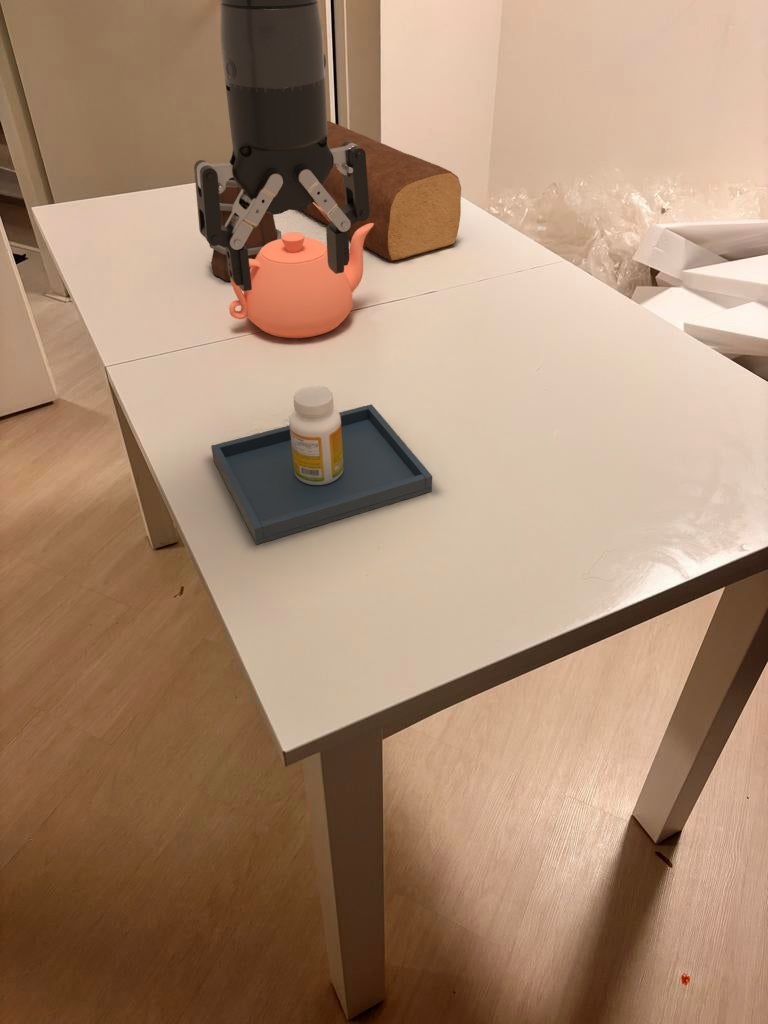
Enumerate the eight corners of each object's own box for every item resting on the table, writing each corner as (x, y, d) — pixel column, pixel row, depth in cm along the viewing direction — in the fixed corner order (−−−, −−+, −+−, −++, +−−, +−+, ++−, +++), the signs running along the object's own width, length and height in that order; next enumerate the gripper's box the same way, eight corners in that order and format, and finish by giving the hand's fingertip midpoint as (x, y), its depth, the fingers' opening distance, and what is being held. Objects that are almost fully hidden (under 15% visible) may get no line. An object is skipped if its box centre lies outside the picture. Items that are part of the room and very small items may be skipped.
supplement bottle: (332, 452, 90) (327, 376, 84) (351, 478, 87) (348, 401, 80) (287, 465, 89) (279, 388, 82) (304, 492, 85) (297, 414, 79)
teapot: (356, 284, 126) (353, 203, 118) (397, 326, 115) (397, 240, 107) (218, 310, 119) (206, 227, 111) (248, 358, 108) (236, 269, 100)
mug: (295, 274, 129) (287, 178, 119) (222, 288, 125) (207, 190, 115) (266, 241, 140) (256, 150, 130) (198, 252, 136) (182, 160, 126)
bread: (341, 184, 162) (338, 112, 154) (462, 244, 137) (466, 162, 129) (274, 200, 156) (267, 125, 147) (388, 266, 131) (387, 181, 122)
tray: (256, 544, 80) (254, 529, 78) (213, 460, 90) (210, 445, 89) (432, 491, 86) (432, 475, 84) (372, 418, 97) (371, 403, 95)
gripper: (342, 55, 65) (348, 251, 76) (168, 71, 61) (200, 277, 71) (381, 73, 60) (382, 280, 70) (194, 91, 55) (224, 311, 66)
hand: (290, 278), depth 71 cm, fingers open, 8 cm apart
